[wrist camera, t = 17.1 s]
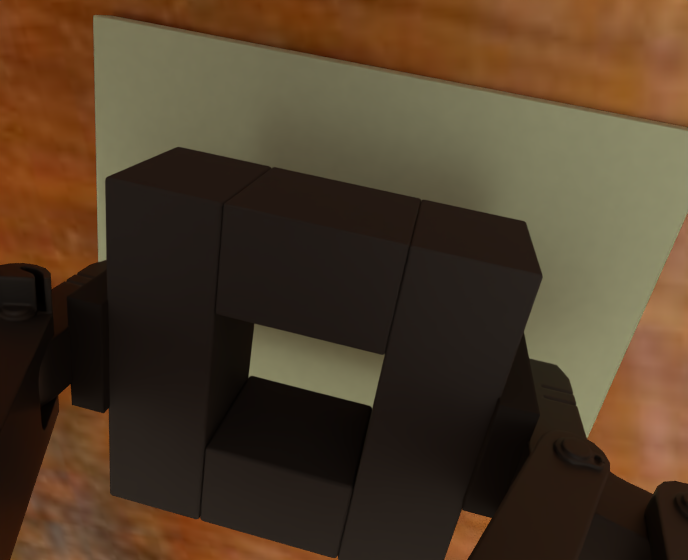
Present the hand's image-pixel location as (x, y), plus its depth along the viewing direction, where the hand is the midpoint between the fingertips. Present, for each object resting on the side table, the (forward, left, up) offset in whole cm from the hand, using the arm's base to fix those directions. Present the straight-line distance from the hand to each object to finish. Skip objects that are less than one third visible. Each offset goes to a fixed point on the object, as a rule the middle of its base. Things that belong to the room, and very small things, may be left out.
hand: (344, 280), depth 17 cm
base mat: (0, 0, -2) cm, 2 cm away
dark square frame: (0, 0, +3) cm, 3 cm away
